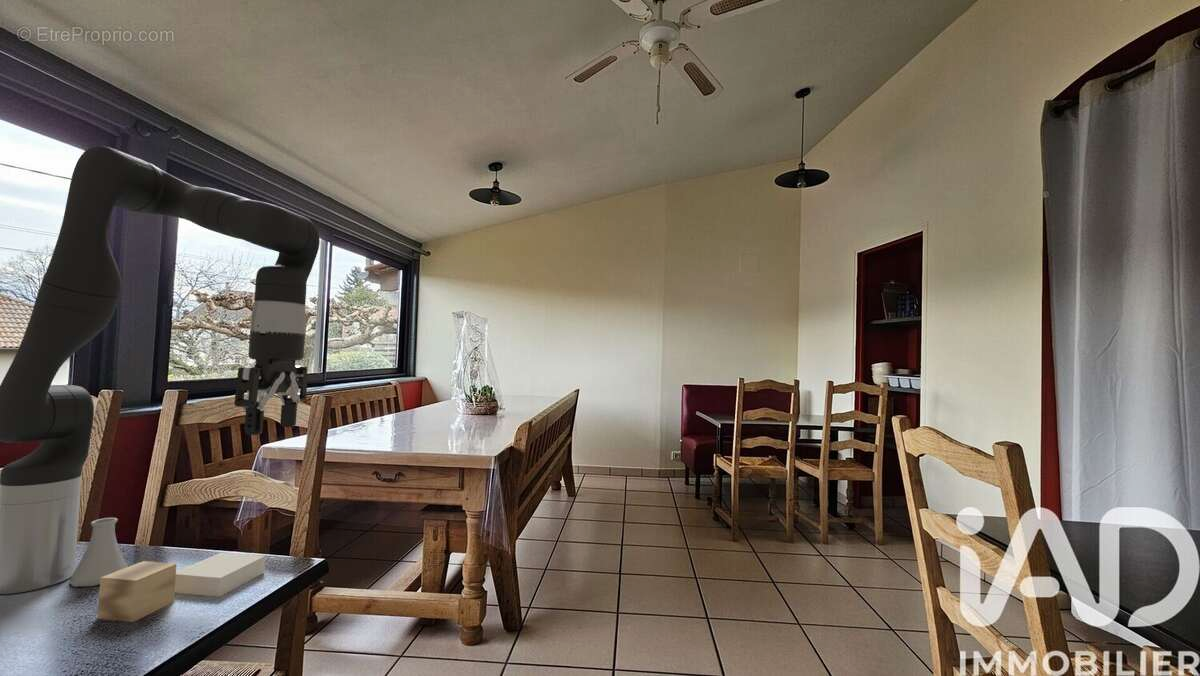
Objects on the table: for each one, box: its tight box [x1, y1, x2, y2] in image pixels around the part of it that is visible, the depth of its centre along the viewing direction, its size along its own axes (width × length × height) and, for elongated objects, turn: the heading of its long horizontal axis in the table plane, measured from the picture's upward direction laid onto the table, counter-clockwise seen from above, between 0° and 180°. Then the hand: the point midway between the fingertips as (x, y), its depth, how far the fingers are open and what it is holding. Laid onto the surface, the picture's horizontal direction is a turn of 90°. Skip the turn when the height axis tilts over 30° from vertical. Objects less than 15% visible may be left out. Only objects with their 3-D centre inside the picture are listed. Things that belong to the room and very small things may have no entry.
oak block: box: [97, 560, 177, 623], centre depth 74 cm, size 6×6×6 cm
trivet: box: [175, 552, 266, 598], centre depth 83 cm, size 9×9×3 cm
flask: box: [68, 517, 129, 588], centre depth 84 cm, size 7×7×10 cm
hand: (271, 430), depth 78 cm, fingers open, 8 cm apart
